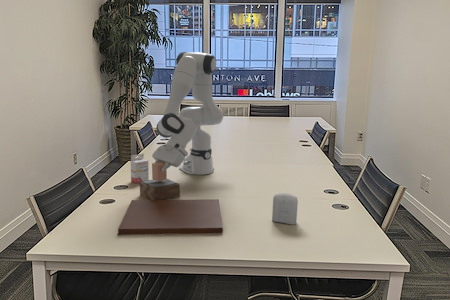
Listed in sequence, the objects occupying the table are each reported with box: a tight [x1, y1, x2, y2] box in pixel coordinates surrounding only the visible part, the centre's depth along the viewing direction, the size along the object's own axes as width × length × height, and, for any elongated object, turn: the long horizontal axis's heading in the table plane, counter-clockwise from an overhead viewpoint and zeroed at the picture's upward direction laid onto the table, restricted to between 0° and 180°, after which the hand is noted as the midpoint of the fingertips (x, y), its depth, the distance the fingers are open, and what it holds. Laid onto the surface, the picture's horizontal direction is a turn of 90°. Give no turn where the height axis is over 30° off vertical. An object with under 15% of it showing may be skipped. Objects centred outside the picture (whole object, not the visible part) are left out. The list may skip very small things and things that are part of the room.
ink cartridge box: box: [130, 153, 150, 184], centre depth 224 cm, size 9×5×15 cm, turn 135°
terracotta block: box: [151, 162, 168, 181], centre depth 199 cm, size 5×5×8 cm
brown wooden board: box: [117, 198, 224, 236], centre depth 174 cm, size 40×3×33 cm
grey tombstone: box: [271, 192, 299, 225], centre depth 169 cm, size 10×4×12 cm, turn 69°
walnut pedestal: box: [139, 178, 181, 200], centre depth 201 cm, size 14×14×7 cm
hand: (158, 169), depth 198 cm, fingers closed on terracotta block, 5 cm apart
